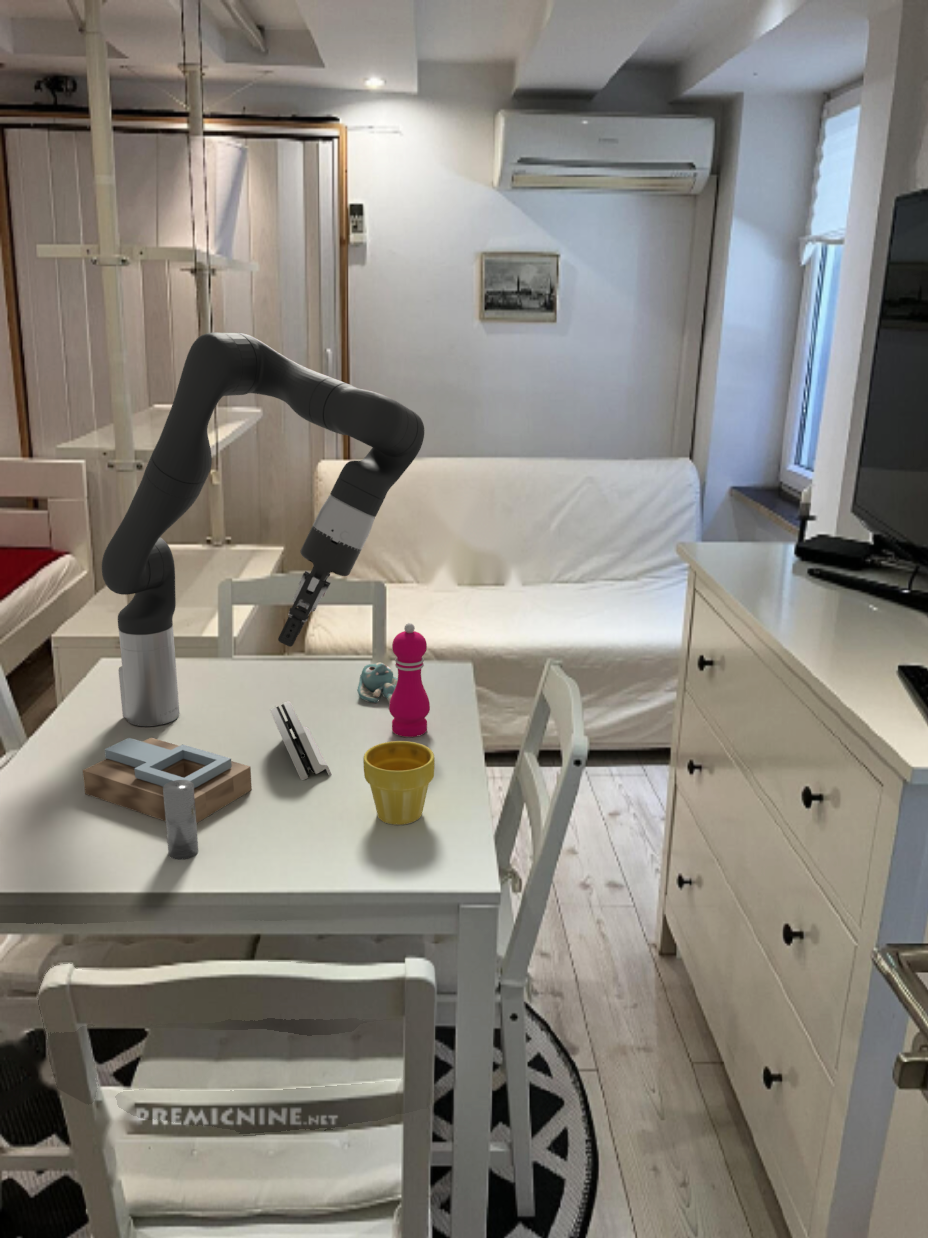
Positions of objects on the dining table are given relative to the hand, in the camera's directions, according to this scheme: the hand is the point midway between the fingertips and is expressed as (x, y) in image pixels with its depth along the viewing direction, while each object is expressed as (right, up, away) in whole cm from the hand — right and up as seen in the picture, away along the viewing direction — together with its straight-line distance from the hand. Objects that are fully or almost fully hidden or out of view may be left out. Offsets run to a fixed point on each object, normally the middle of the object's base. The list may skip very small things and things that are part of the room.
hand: (287, 638), depth 141 cm
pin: (-14, -29, -3) cm, 33 cm away
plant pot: (+15, -27, +8) cm, 32 cm away
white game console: (-3, -21, +27) cm, 34 cm away
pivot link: (-22, -20, +13) cm, 32 cm away
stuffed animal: (+9, -13, +53) cm, 55 cm away
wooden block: (-21, -24, +14) cm, 35 cm away
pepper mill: (+15, -17, +38) cm, 44 cm away
